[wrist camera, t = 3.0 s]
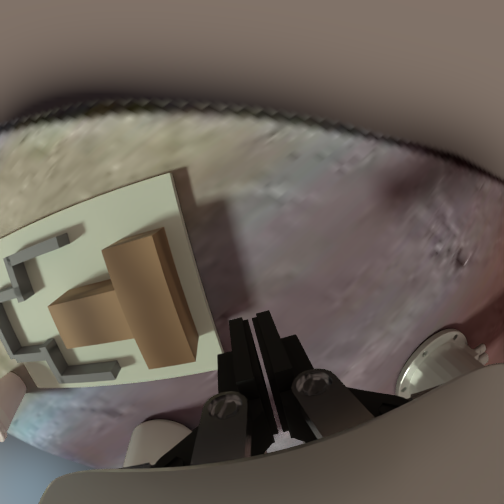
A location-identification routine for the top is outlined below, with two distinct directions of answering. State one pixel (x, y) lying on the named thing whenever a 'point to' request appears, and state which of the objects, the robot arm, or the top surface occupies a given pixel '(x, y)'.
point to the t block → (132, 304)
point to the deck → (88, 272)
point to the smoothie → (9, 400)
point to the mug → (153, 441)
